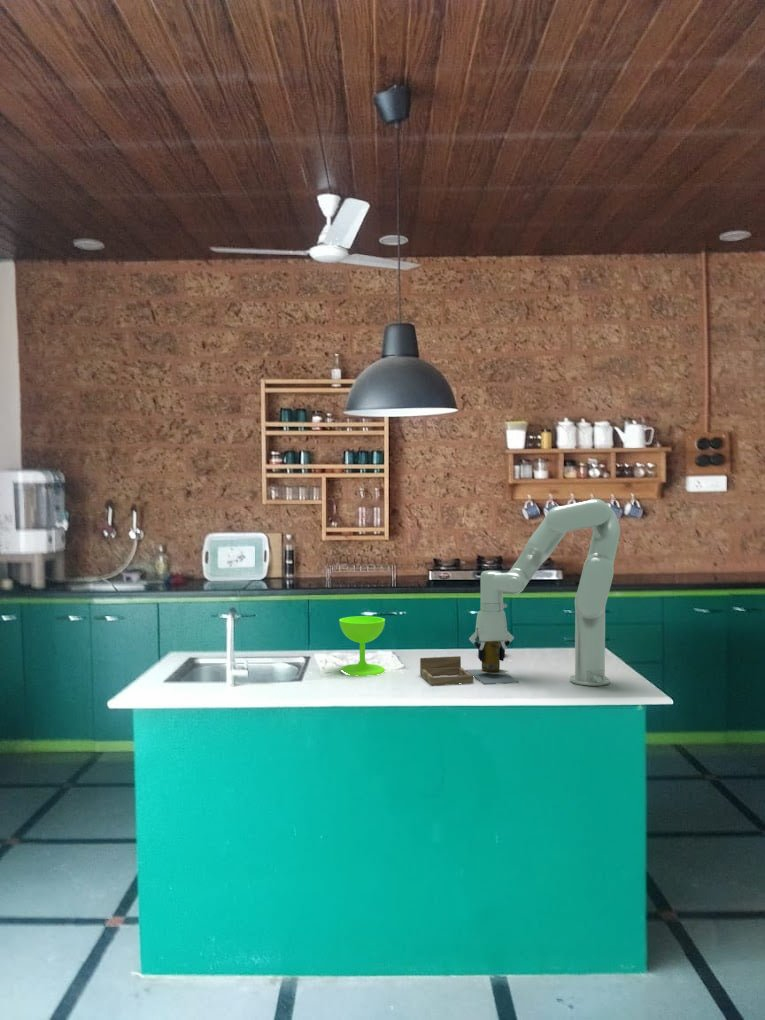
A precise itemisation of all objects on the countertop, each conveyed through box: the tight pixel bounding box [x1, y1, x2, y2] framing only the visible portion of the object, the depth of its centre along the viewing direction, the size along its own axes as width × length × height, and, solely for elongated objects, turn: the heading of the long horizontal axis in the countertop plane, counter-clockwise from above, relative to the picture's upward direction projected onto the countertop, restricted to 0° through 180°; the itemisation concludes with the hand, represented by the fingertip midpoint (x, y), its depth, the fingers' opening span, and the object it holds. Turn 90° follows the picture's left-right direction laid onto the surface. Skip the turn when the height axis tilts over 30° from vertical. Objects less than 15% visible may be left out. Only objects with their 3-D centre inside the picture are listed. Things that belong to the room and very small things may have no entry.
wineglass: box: [338, 615, 386, 677], centre depth 295 cm, size 16×16×18 cm
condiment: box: [476, 641, 509, 674], centre depth 285 cm, size 7×8×12 cm
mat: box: [465, 668, 520, 685], centre depth 286 cm, size 20×12×1 cm, turn 12°
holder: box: [419, 655, 474, 686], centre depth 282 cm, size 15×14×6 cm
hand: (491, 660), depth 286 cm, fingers closed on condiment, 6 cm apart
